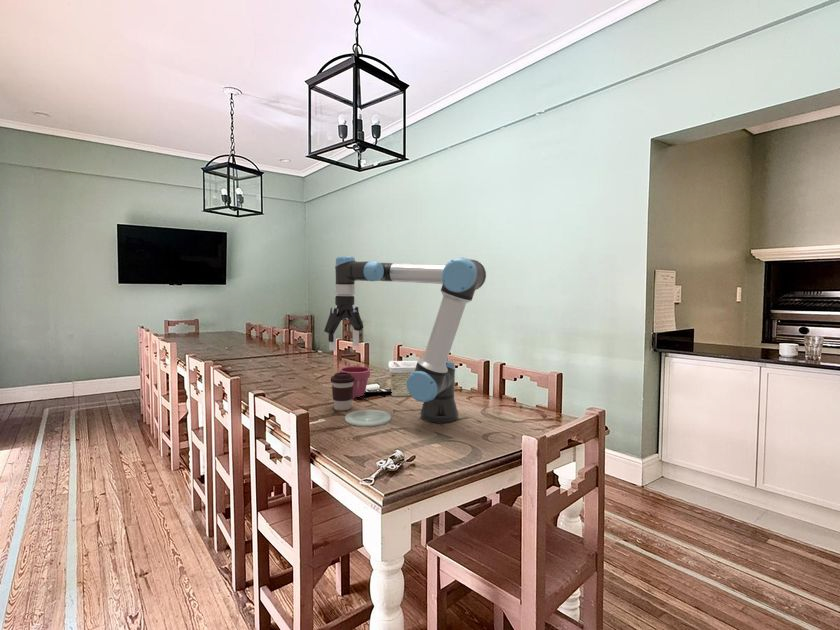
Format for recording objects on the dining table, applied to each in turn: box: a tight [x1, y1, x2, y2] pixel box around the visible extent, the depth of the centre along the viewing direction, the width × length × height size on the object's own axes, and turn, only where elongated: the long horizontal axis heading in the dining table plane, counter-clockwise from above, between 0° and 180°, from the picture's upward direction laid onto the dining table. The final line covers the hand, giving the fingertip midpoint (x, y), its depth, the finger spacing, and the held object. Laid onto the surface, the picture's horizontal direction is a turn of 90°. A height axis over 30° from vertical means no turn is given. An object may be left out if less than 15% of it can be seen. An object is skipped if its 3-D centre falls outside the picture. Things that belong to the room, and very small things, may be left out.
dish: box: [344, 409, 392, 428], centre depth 175 cm, size 18×18×1 cm
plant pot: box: [339, 365, 371, 399], centre depth 210 cm, size 14×14×13 cm
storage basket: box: [387, 360, 418, 397], centre depth 217 cm, size 24×16×15 cm
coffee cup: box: [330, 371, 355, 412], centre depth 189 cm, size 10×10×15 cm
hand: (344, 348), depth 179 cm, fingers open, 13 cm apart
